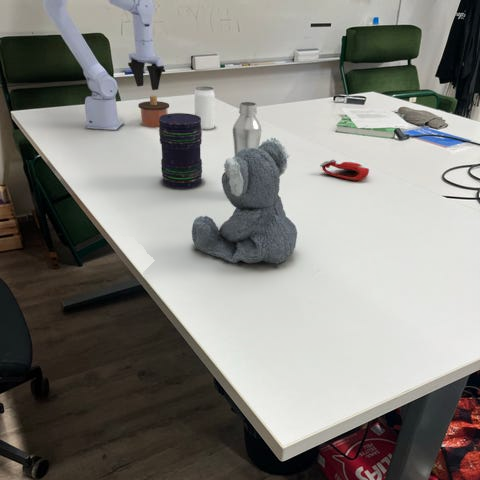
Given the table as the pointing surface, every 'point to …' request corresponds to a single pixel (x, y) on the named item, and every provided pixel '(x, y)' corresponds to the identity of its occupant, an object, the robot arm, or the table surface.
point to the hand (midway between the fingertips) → (147, 87)
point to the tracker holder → (346, 166)
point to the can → (205, 106)
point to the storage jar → (181, 150)
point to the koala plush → (251, 210)
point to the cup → (152, 117)
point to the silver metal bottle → (246, 128)
